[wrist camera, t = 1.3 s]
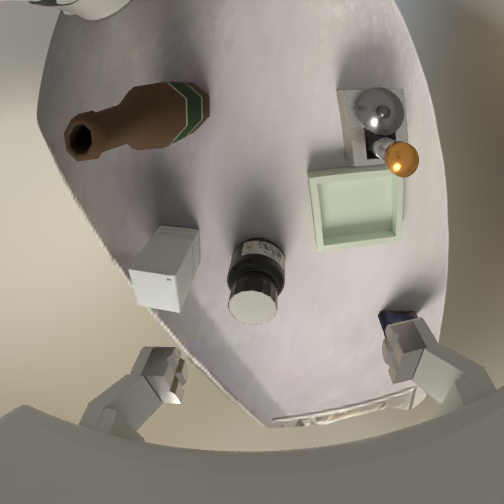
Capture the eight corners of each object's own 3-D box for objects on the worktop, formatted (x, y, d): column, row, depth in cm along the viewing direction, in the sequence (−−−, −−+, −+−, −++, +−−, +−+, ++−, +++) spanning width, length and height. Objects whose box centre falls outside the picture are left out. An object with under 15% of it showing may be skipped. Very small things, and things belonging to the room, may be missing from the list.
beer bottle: (200, 73, 31) (98, 60, 11) (221, 120, 35) (145, 162, 15) (153, 97, 34) (31, 124, 13) (174, 141, 37) (71, 207, 17)
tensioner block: (335, 89, 31) (349, 88, 25) (388, 87, 30) (410, 88, 23) (345, 157, 36) (359, 171, 30) (395, 153, 35) (416, 167, 29)
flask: (417, 310, 51) (434, 351, 42) (411, 320, 53) (426, 360, 43) (380, 308, 52) (394, 352, 42) (375, 319, 53) (386, 362, 44)
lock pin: (356, 127, 34) (387, 143, 24) (380, 126, 33) (418, 142, 23) (358, 152, 36) (388, 178, 25) (382, 150, 35) (418, 176, 25)
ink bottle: (296, 259, 47) (300, 308, 37) (263, 288, 51) (259, 338, 41) (252, 225, 44) (243, 270, 34) (221, 259, 48) (206, 307, 38)
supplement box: (159, 224, 45) (127, 267, 35) (200, 228, 45) (176, 275, 35) (162, 259, 49) (135, 305, 39) (200, 264, 49) (180, 314, 39)
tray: (306, 171, 38) (309, 178, 36) (395, 163, 36) (403, 168, 33) (315, 241, 44) (317, 251, 42) (394, 231, 42) (400, 240, 39)
